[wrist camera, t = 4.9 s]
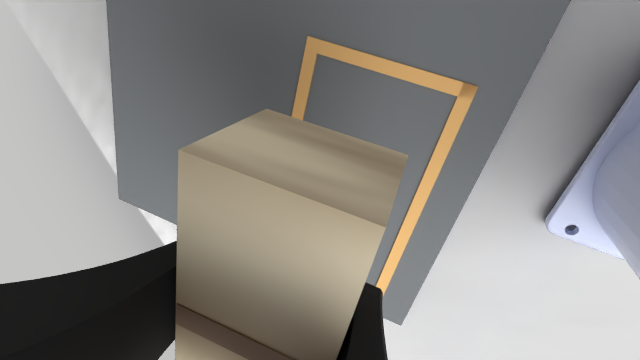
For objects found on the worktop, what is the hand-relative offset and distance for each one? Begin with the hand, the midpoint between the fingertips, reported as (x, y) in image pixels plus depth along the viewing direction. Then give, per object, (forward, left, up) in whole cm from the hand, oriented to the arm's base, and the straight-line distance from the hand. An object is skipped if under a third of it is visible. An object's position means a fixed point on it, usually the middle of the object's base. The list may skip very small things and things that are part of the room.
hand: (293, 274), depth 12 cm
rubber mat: (+5, -3, -8) cm, 10 cm away
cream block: (0, 0, -1) cm, 1 cm away
